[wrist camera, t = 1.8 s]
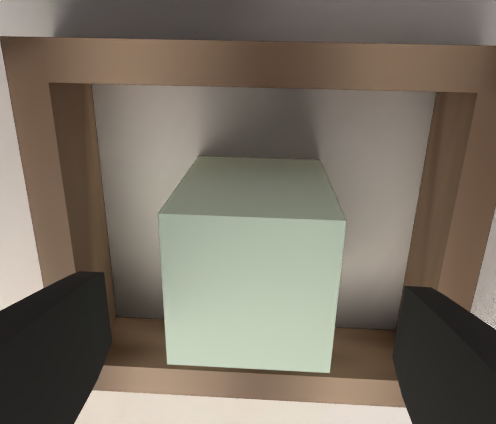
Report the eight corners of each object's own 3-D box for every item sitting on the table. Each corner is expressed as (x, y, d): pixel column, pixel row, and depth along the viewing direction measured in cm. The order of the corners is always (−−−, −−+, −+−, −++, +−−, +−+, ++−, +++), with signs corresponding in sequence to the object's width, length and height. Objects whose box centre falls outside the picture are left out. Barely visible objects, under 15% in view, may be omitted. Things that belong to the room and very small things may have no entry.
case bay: (92, 338, 19) (61, 388, 16) (52, 38, 15) (-1, 36, 12) (419, 354, 18) (446, 410, 16) (481, 47, 14) (534, 46, 11)
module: (200, 263, 17) (167, 364, 12) (198, 155, 16) (158, 213, 10) (311, 268, 17) (329, 372, 12) (320, 159, 16) (346, 220, 10)
